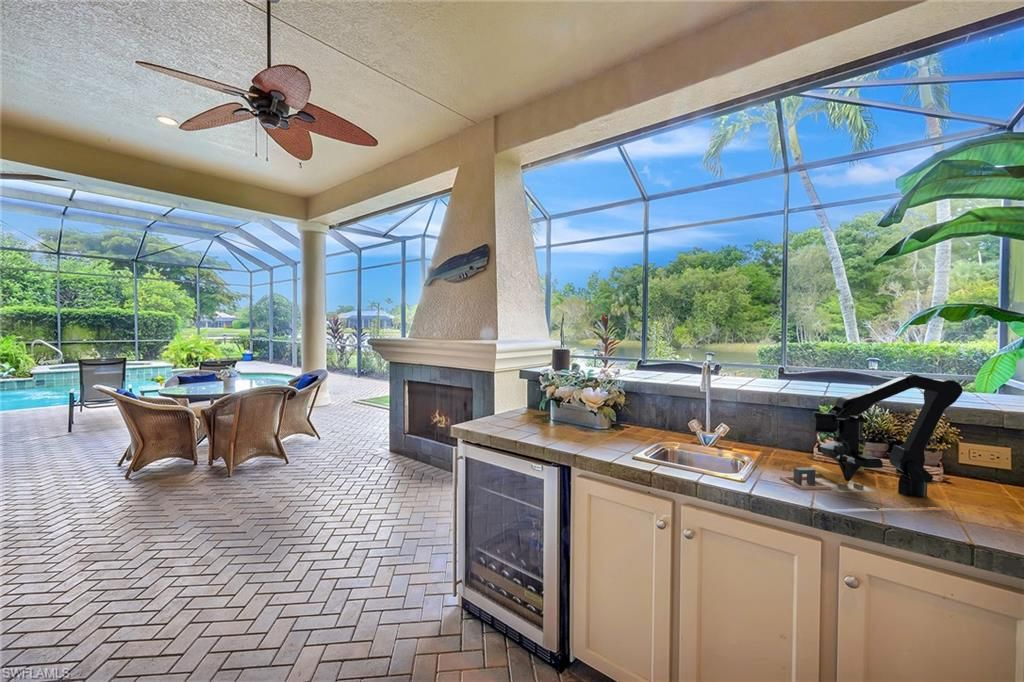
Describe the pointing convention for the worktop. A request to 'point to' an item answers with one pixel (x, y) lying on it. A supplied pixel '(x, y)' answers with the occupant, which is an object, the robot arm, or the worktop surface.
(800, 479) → the dark gray horseshoe block
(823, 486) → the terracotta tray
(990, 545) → the worktop surface
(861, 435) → the sauce bottle
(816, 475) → the cradle board
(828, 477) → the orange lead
